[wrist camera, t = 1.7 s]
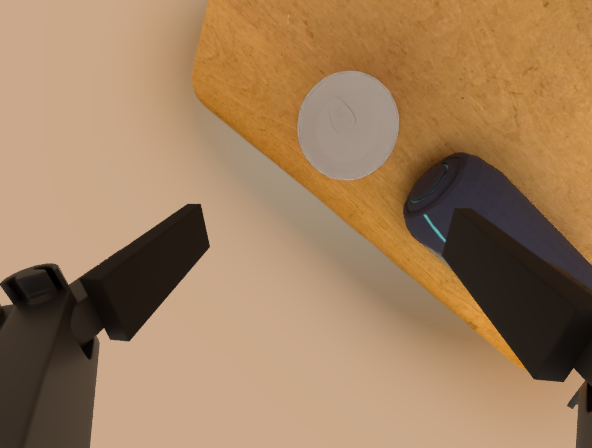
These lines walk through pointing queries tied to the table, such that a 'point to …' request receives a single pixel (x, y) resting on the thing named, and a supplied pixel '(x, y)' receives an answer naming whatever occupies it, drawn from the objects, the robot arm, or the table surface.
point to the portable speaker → (485, 211)
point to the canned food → (348, 125)
